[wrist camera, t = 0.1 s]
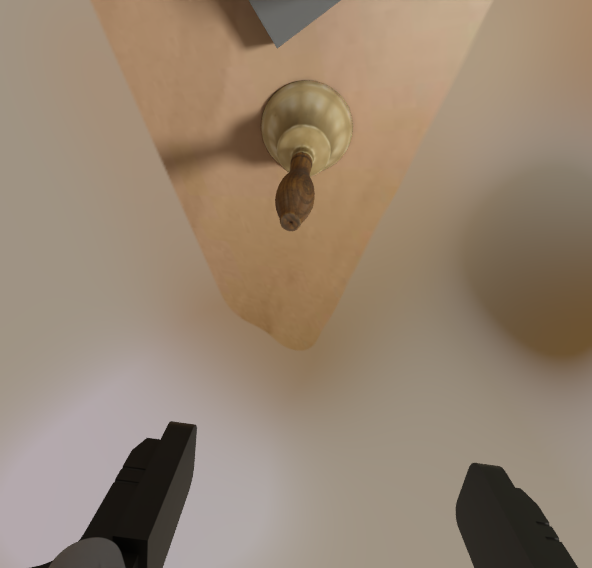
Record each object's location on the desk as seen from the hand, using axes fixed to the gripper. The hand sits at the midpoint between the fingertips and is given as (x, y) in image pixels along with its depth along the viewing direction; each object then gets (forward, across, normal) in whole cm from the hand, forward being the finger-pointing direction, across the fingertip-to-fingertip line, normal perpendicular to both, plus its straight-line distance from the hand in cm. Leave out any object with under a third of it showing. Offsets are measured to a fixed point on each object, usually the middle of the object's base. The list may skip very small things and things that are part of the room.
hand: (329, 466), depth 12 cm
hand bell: (+30, +2, -10) cm, 32 cm away
